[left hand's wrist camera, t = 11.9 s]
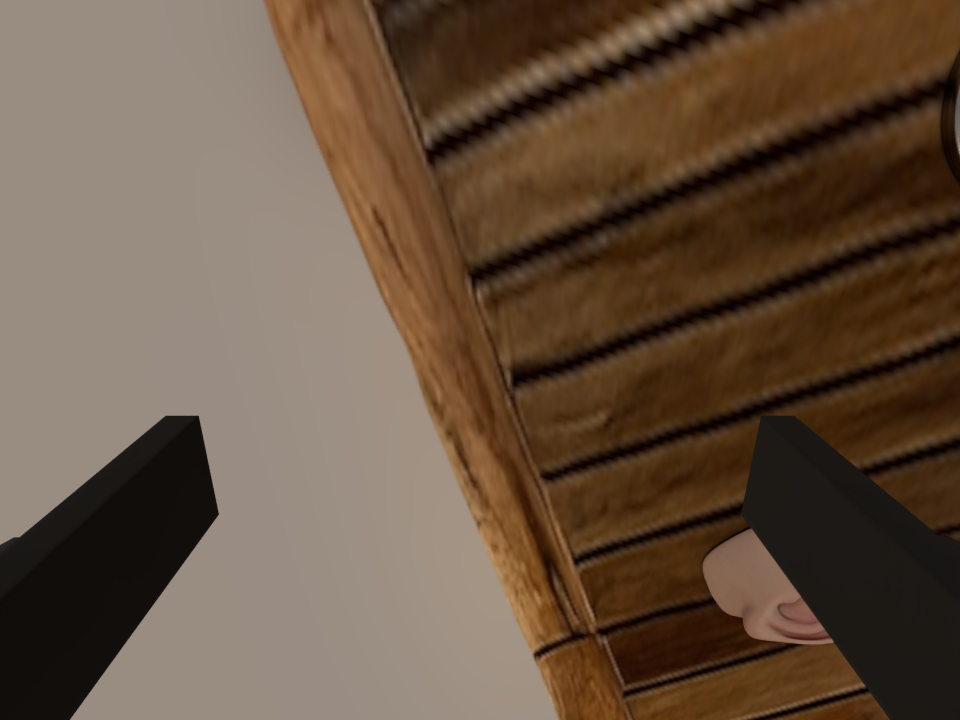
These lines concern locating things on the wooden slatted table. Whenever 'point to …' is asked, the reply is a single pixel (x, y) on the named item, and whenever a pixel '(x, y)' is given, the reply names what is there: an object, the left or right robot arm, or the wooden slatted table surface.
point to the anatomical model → (759, 592)
